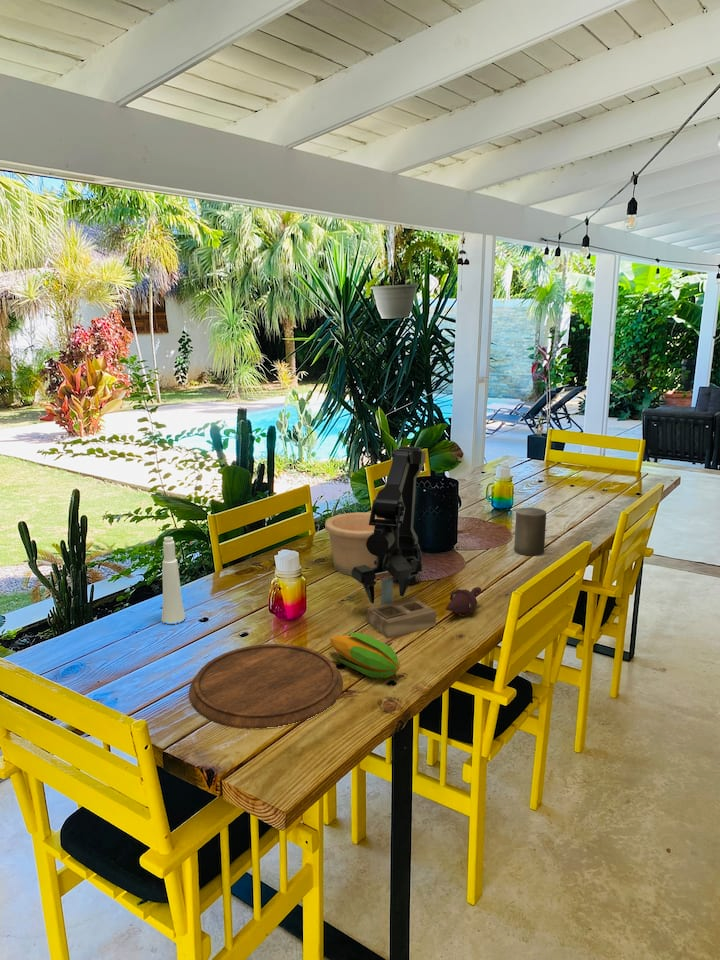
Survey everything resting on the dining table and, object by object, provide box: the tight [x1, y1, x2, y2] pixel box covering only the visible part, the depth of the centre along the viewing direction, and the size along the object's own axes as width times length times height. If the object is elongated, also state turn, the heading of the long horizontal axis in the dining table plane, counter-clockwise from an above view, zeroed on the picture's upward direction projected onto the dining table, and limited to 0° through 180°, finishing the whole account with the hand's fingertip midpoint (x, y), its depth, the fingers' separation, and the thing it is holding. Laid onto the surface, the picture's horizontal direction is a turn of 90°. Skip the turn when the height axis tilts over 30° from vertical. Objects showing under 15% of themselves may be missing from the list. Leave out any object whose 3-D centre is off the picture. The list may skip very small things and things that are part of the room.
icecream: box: [445, 586, 482, 617], centre depth 185 cm, size 7×7×15 cm
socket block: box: [366, 597, 437, 639], centre depth 179 cm, size 10×14×4 cm
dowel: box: [380, 577, 394, 605], centre depth 188 cm, size 3×3×8 cm
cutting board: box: [188, 643, 344, 729], centre depth 150 cm, size 32×32×2 cm
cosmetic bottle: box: [161, 536, 186, 623], centre depth 179 cm, size 6×6×22 cm
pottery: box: [324, 511, 385, 576], centre depth 218 cm, size 22×22×14 cm
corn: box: [329, 631, 401, 680], centre depth 157 cm, size 7×8×20 cm
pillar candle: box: [513, 507, 547, 557], centre depth 232 cm, size 10×10×15 cm
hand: (387, 599), depth 188 cm, fingers open, 9 cm apart
